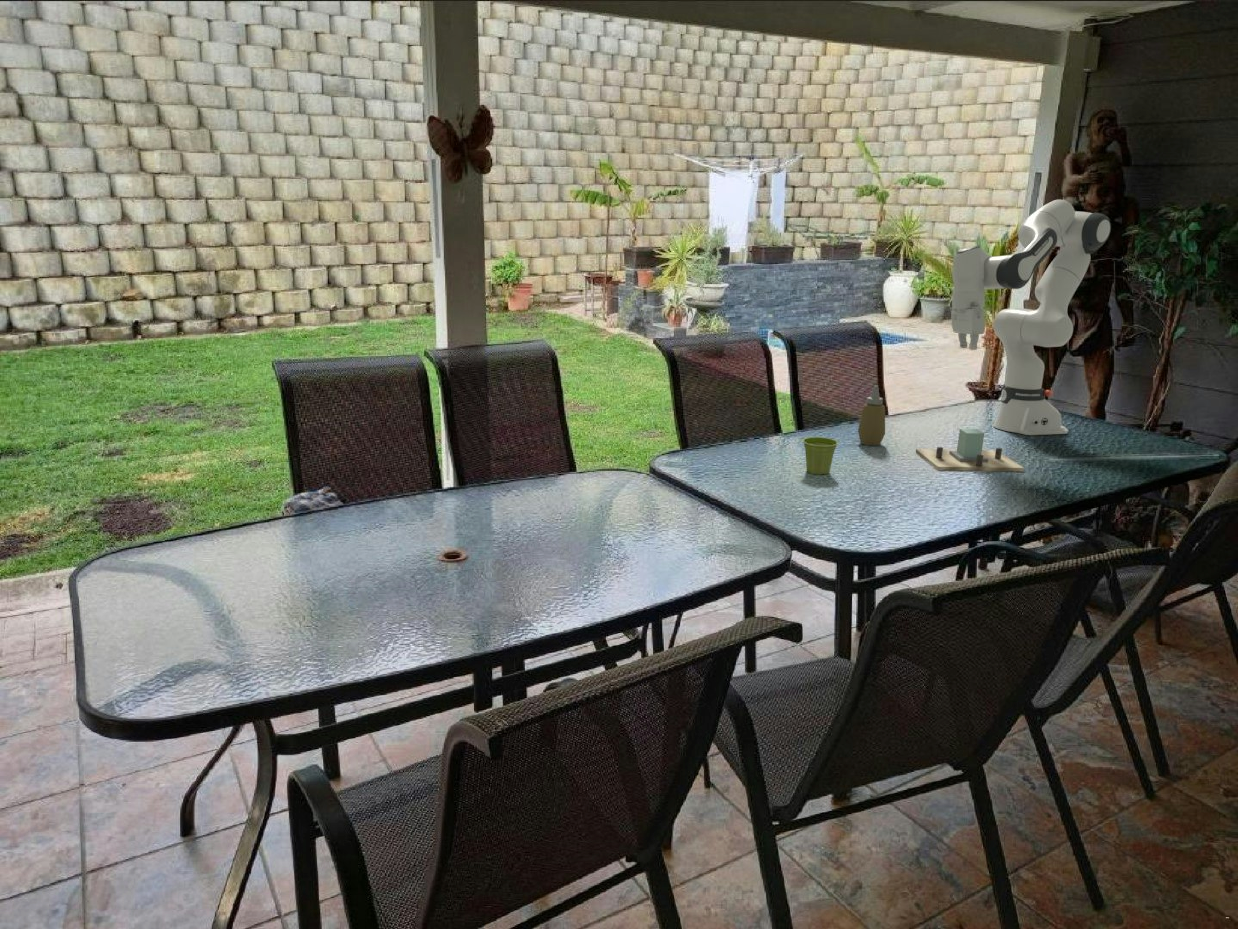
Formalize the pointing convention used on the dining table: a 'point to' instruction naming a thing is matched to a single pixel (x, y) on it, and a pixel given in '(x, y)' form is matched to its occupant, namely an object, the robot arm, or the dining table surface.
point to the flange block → (969, 446)
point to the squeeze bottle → (872, 420)
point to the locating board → (947, 462)
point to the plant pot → (819, 454)
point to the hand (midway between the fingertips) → (968, 348)
